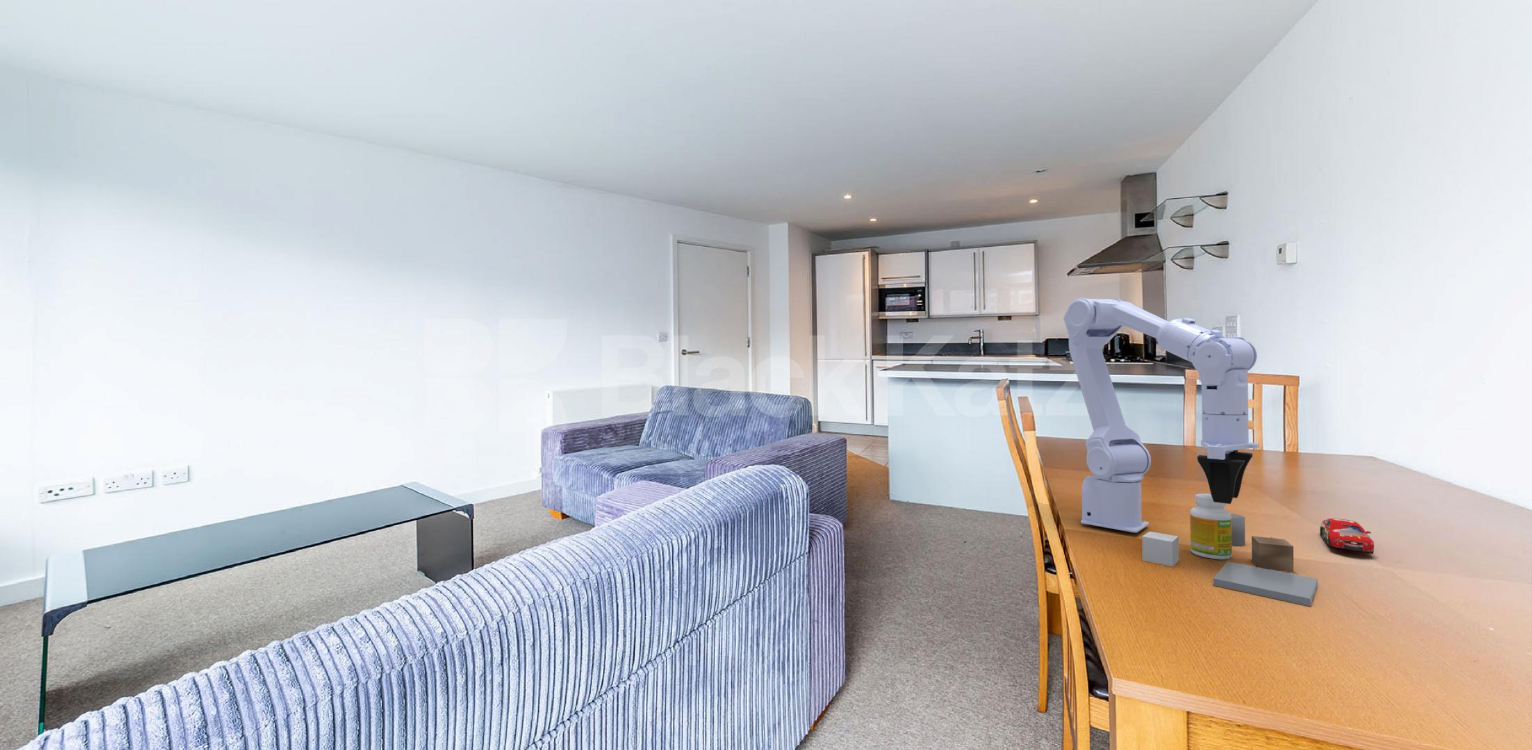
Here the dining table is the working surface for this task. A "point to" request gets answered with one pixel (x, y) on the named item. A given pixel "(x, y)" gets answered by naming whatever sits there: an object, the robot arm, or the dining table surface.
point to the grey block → (1160, 548)
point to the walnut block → (1272, 554)
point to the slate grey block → (1238, 530)
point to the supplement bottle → (1210, 528)
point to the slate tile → (1267, 583)
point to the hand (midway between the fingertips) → (1225, 499)
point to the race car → (1346, 535)
